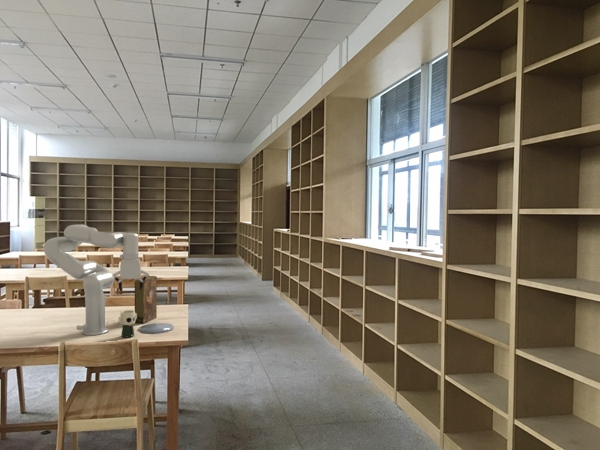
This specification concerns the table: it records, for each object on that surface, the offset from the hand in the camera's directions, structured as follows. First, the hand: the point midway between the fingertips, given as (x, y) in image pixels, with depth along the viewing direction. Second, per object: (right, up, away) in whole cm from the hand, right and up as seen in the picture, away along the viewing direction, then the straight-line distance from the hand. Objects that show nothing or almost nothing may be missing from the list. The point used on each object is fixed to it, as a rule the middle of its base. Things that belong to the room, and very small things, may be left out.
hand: (130, 289), depth 246 cm
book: (-2, -23, +32) cm, 39 cm away
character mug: (-1, -24, -2) cm, 24 cm away
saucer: (+9, -23, +14) cm, 29 cm away
